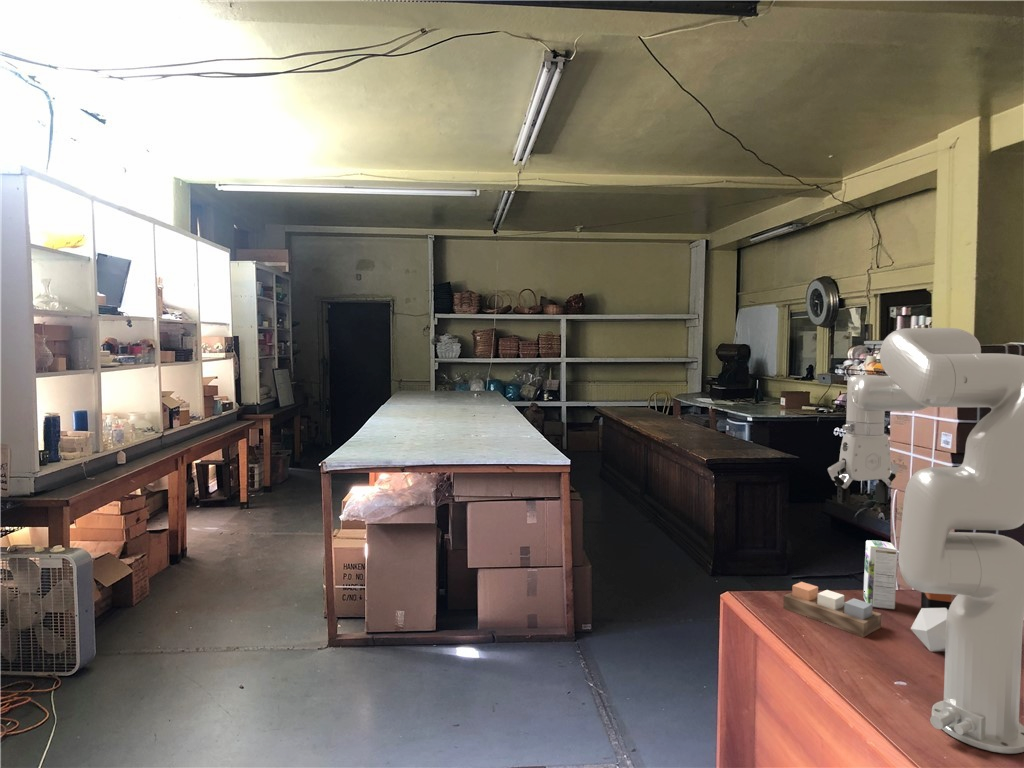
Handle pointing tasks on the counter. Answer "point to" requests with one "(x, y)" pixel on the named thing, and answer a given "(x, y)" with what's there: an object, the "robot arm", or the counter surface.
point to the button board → (832, 616)
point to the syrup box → (880, 574)
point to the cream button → (830, 599)
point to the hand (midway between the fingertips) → (862, 502)
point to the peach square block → (805, 591)
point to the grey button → (858, 609)
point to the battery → (935, 600)
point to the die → (931, 628)
